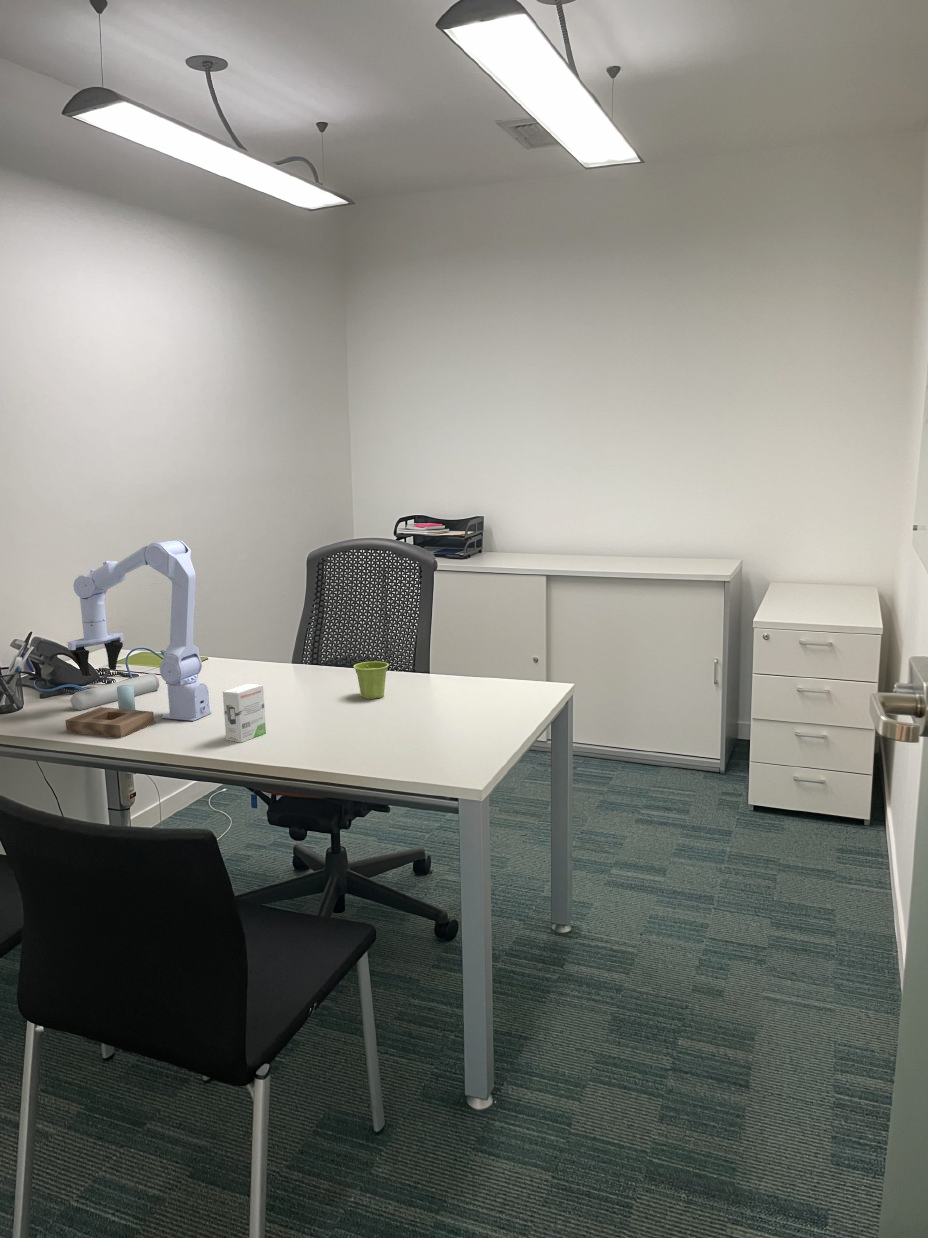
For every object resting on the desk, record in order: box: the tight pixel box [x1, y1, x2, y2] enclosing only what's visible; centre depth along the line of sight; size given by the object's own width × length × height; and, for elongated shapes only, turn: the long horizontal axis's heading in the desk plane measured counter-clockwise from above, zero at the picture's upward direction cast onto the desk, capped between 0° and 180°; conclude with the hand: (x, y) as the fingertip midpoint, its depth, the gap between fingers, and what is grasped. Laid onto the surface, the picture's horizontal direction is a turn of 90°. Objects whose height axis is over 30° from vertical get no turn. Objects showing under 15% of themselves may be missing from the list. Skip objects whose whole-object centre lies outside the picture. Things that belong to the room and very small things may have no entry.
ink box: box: [222, 683, 267, 744], centre depth 213 cm, size 9×5×12 cm, turn 149°
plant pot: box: [353, 661, 389, 700], centre depth 247 cm, size 9×9×9 cm
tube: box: [69, 672, 160, 711], centre depth 249 cm, size 5×5×25 cm
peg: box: [117, 685, 136, 710], centre depth 235 cm, size 4×4×7 cm
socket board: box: [65, 706, 155, 738], centre depth 223 cm, size 16×12×3 cm
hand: (99, 672), depth 239 cm, fingers open, 7 cm apart
